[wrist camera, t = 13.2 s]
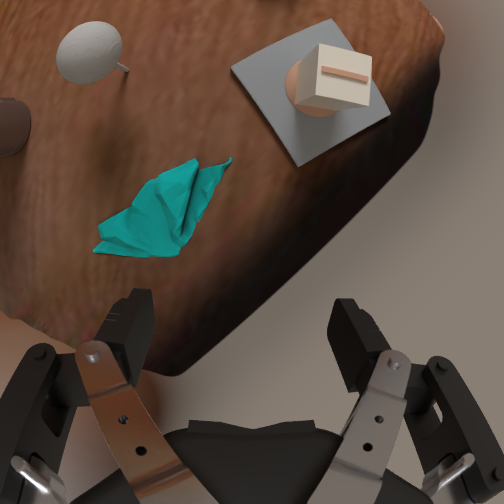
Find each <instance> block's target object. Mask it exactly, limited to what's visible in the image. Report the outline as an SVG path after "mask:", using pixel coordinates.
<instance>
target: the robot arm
mask: <svg viewBox="0 0 504 504" xmlns="http://www.w3.org/2000/svg"><path fill="white" fill-rule="evenodd" d="M29 132H30V113H29V110H28V108H27V106H26V105H25V104H24V103H22V102H19V101H15V99H14V98H0V158H1V157H5V156H9V155H13V154H15V153H17V152H19V151H20V150H21V149H22V148H23V146H24V145H25V143H26V141H27V138H28V135H29ZM154 329H155V316H154V308H153V299H152V292H151V290H150V289H140V288H133V290H132V291H131V293H130V295H129V297H128V298H127V299H125V298H122V299H120V300H119V301H118V302H116V303H115V304H114V305H113V306H112V308H111V310H110V311H109V313H108V315H107V317H106V320H104V322H103V324H102V325H101V327H100V329H99V331H98V332H97V334H96V336H95V338H94V340H93V341H88V342H85V343H83V344H82V345H80V346H79V347H78V348H77V350H76V352H75V353H70V354H57V353H56V351H55V349H54V347H53V346H51V345H50V344H47V343H40V344H36V345H34V346H32V347H31V348H29V349H28V350H27V352H26V354H25V355H24V357H23V359H22V360H21V362H20V363H19V365H18V367H17V369H16V370H15V372H14V374H13V376H12V378H11V379H10V381H9V383H8V385H7V387H6V389H5V391H4V393H3V394H2V397H1V398H0V504H68V503H67V501H66V497H65V485H64V482H63V481H62V479H61V478H60V477H59V476H58V471H59V467H60V463H61V459H62V455H63V451H64V448H65V444H66V441H67V437H68V434H69V431H70V428H71V424H72V421H73V418H74V415H75V412H76V409H77V407H78V406H79V407H81V406H91V408H92V410H93V413H94V415H95V418H96V420H97V422H98V425H99V427H100V429H101V431H102V433H103V435H104V438H105V440H106V442H107V444H108V446H109V448H110V450H111V452H112V454H113V456H114V458H115V459H116V461H117V463H118V465H119V467H120V468H119V469H117V470H116V471H115V472H113V473H112V474H110V475H109V476H108V477H106V478H105V479H104V480H102V481H101V482H99V483H98V484H97V485H95V486H94V487H92V488H91V489H89V490H88V491H86V492H85V493H83V494H82V495H80V496H79V497H77V498H76V499H74V500H73V501H72V502H71V503H70V504H483V503H484V502H486V501H488V500H489V499H491V498H492V497H494V496H495V495H497V494H498V493H500V492H501V491H503V490H504V454H503V452H502V450H501V448H500V446H499V444H498V442H497V440H496V438H495V436H494V434H493V432H492V430H491V428H490V426H489V424H488V422H487V420H486V419H485V417H484V415H483V413H482V411H481V410H480V408H479V406H478V404H477V402H476V401H475V399H474V397H473V396H472V394H471V392H470V391H469V389H468V387H467V386H466V384H465V382H464V381H463V379H462V377H461V376H460V374H459V373H458V371H457V369H456V368H455V366H454V365H453V364H452V363H451V361H449V360H448V359H446V358H444V357H441V356H433V357H431V358H430V359H429V361H428V362H427V364H426V365H420V364H412V363H411V362H410V360H409V358H408V357H407V356H406V355H405V354H403V353H402V352H399V351H396V350H392V349H391V348H390V346H389V344H388V342H387V341H386V339H385V337H384V336H383V334H382V333H381V331H379V328H378V326H377V325H376V323H375V321H374V320H373V318H372V316H370V315H369V314H368V313H367V312H365V311H364V310H363V309H359V307H358V305H357V304H356V302H355V301H354V299H343V298H342V299H340V298H338V299H336V300H335V302H334V306H333V309H332V313H331V316H330V321H329V324H328V328H327V337H328V341H329V343H330V345H331V348H332V351H333V353H334V356H335V358H336V361H337V364H338V366H339V369H340V371H341V374H342V376H343V379H344V382H345V385H346V387H347V390H348V392H349V393H350V392H359V395H360V396H359V398H358V399H357V401H356V403H355V405H354V408H353V410H352V412H351V414H350V416H349V418H348V420H347V422H346V424H345V426H344V428H343V429H342V431H341V433H340V435H338V434H335V433H333V432H330V431H327V430H324V429H319V428H316V427H315V423H314V420H306V421H293V422H282V423H278V424H274V425H270V426H266V427H262V428H258V429H249V428H243V427H239V426H235V425H231V424H227V423H222V422H212V421H198V420H189V425H188V428H185V429H179V430H175V431H172V432H169V433H167V434H165V435H162V434H161V432H160V431H159V429H158V428H157V426H156V425H155V423H154V422H153V420H152V419H151V417H150V416H149V414H148V412H147V411H146V409H145V408H144V406H143V404H142V403H141V401H140V399H139V398H138V396H137V394H136V392H135V391H134V389H133V387H136V386H137V382H138V379H139V376H140V373H141V370H142V366H143V363H144V360H145V357H146V354H147V351H148V348H149V345H150V342H151V339H152V336H153V333H154ZM436 402H437V404H438V406H439V408H440V410H441V412H442V416H443V419H442V423H441V422H440V420H439V418H438V415H437V413H436V411H435V409H434V407H433V405H434V404H435V403H436ZM403 417H404V419H405V422H406V424H407V427H408V429H409V432H410V434H411V437H412V440H413V443H414V445H415V448H416V451H417V454H418V456H419V459H420V462H421V465H422V468H423V471H424V474H425V477H424V479H423V483H422V488H421V490H420V489H418V488H417V487H415V486H413V485H412V484H410V483H408V482H407V481H405V480H404V479H402V478H401V477H399V476H398V475H396V474H394V473H393V472H391V471H390V470H388V469H387V468H386V466H387V463H388V461H389V458H390V455H391V452H392V450H393V447H394V444H395V441H396V438H397V435H398V432H399V429H400V425H401V422H402V419H403Z"/></svg>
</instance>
